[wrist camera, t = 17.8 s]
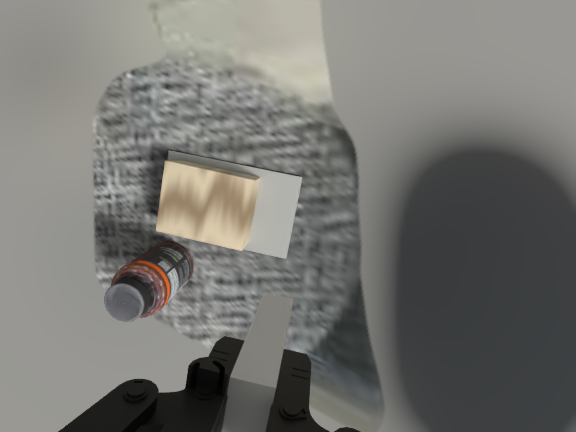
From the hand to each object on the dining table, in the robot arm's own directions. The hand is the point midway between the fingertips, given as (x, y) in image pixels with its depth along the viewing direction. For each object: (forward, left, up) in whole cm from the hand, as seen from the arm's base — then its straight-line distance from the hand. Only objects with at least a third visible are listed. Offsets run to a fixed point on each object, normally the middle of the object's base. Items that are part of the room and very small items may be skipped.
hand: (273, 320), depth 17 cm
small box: (0, -6, -22) cm, 23 cm away
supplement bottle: (+9, -15, -25) cm, 30 cm away
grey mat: (0, -9, -24) cm, 26 cm away
